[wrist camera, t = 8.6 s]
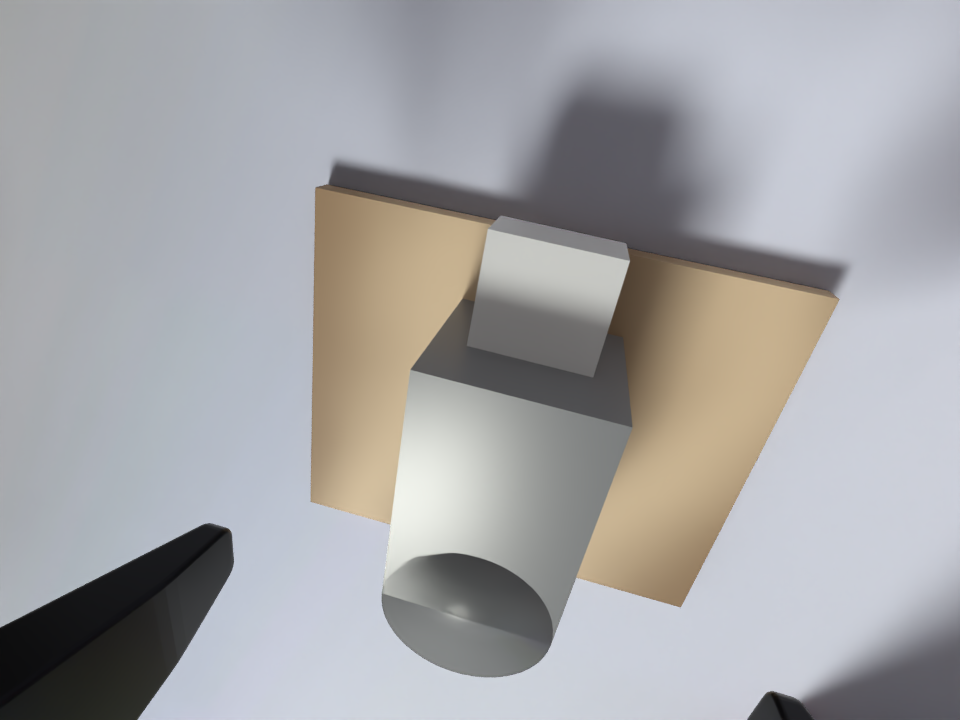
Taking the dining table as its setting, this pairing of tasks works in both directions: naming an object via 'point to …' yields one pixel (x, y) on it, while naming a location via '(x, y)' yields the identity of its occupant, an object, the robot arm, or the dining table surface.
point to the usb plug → (508, 452)
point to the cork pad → (637, 318)
